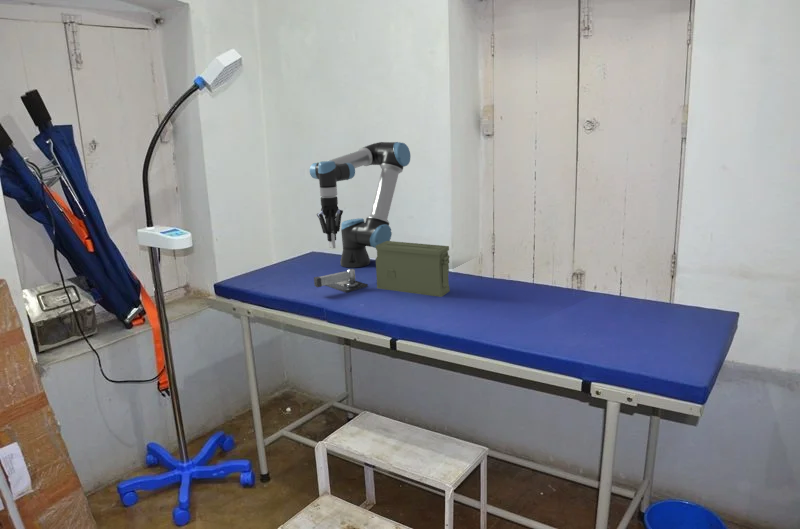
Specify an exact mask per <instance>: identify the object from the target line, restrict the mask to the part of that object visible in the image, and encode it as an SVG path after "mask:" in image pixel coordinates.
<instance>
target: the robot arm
mask: <svg viewBox="0 0 800 529" xmlns="http://www.w3.org/2000/svg"><path fill="white" fill-rule="evenodd" d="M410 162H411V151H410V149H409V146H408V145H407V144H406V142H405V143H404V142H401V141H391V142H389V141H388V142H387V141H379V142H374V143H371V144H369V145H368V144H367V145H365V146H363V147H362V146H361V147H360V148H359V149H358V150H357V151H353V152H350V153H348V154H344V155H342V156H338V157H336V158H332V159H329V160H326V161H325V160H324V161H320V162H314V163H312V164H311V165H310V167H309V175H310V177H311V178H313V179H315V180H318V182H319V193H320V205H321V209H320V212H318V213H316V216H317V218H318V220H319V223H320V227H321V231H322V233H323V234H326V236H327V242H328V245H329V247H328V248H329V249H336V241H337V234H338V232H340V230H341V232H340V233H341V242H342V253H341V256H340V257H341V258H340V266H341V267H344V268H349V269H355V268H361V267H365V266H368V265H370V264H371V259H370V256H369V254H368V251H367V248H366V247H370V248H374V249H376V245H378V244H381V243H383V242H385V241H391V239H392V234H393V232H392V229H391V227H390V222H389V220H388V218H389V214H390V209H391V206H392V201H393V198H394V193H395V190H396V185H397V181H398V178H399V174H401V173H402V172H403V170H404V167H406V166H408V165H409V164H410ZM368 166H380V170H381V172H380V176H379V180H378V184H377V189H376V192H375V196H374V200H373V205H372V207H371V211H370V215H368V216H367V217H366V219H364V218H363V217H362V218H359V217H357V218H352V219H348V220H343V222H342V216H343V213H344V210H343V209H339V207H338V204H339V201H338V200H339V199H338V196H337V195H338V188H337V187H338V186H337V182H342V181H349V180H352V179H353V178H354V177H355V175H356V169H357V168H359V167H368Z"/></svg>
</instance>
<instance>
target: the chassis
mask: <svg viewBox="0 0 800 529" xmlns="http://www.w3.org/2000/svg"><path fill="white" fill-rule="evenodd" d="M355 281H356V282H355V283H352V284H350V283H348V280H347V281H342V282H338V283H333V284H329V285H324V286H325V287H329V288H332V289H334V290H336V291H340V292H342V293H347V294H348V293H350V292H354V291H357V290H360V289H365V288H367V287H368V283H365V282H361V281H358V280H355Z"/></svg>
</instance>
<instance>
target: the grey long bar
mask: <svg viewBox="0 0 800 529" xmlns="http://www.w3.org/2000/svg"><path fill="white" fill-rule="evenodd" d="M347 280H348V283H350V284H352V283H355V282H356V281H357V280H356V269H355V268H348V269H347V270H345V271H340V272H335V273H330V274H326V275H322V276H314V277H313V284H314V287H316V288H321V287H322V286H325V285H329V284H333V283H338V282H342V281H347Z"/></svg>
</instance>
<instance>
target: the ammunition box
mask: <svg viewBox="0 0 800 529" xmlns="http://www.w3.org/2000/svg"><path fill="white" fill-rule="evenodd" d="M375 250H376V258H375V271H376V272H375V273H376V289H378V290H379V289H380V290H386V291H394V292H402V293H407V294H416V295H424V296H431V297H440V298H442V297H444V296H445V295H446V294H448V293H449V292H451V290H450V285H449V282H450V281H449V272H450V268H449V266H450V265H449V263H450V255H449V251H450V246H449V245H439V244H428V243H417V242H416V243H414V242H403V241H394V240H390V241H385V242H383V243H381V244H378V245H376V248H375Z"/></svg>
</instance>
